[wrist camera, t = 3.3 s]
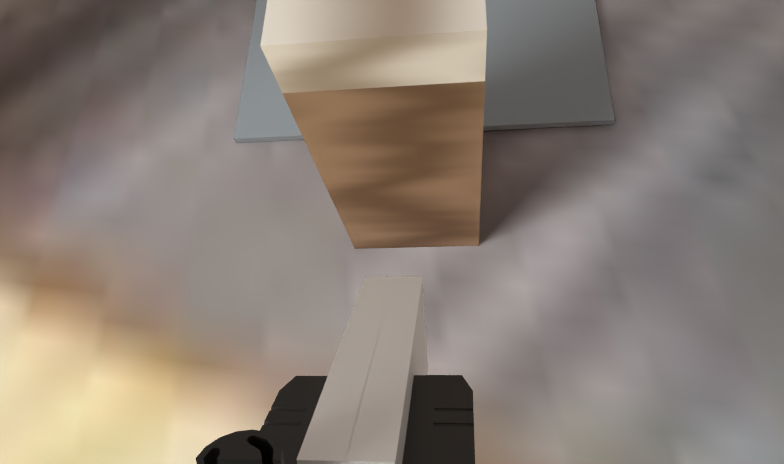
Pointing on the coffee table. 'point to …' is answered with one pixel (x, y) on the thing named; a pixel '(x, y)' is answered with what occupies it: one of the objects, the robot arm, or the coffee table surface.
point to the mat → (502, 75)
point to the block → (388, 111)
